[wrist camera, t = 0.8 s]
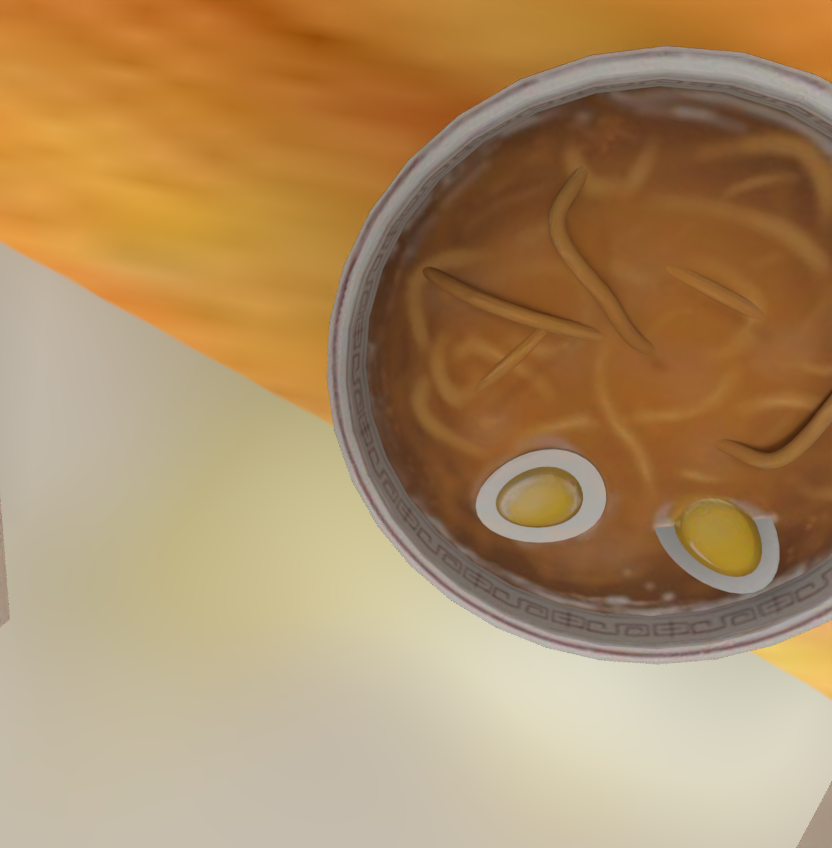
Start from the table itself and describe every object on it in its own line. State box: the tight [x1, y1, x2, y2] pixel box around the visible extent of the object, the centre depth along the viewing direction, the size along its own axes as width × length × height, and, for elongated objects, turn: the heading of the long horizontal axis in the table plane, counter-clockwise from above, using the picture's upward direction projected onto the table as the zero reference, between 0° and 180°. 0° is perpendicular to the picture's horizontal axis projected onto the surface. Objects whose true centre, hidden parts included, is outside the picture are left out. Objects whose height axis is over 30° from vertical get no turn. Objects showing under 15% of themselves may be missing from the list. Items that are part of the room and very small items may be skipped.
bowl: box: [327, 46, 832, 664], centre depth 32 cm, size 23×23×10 cm
